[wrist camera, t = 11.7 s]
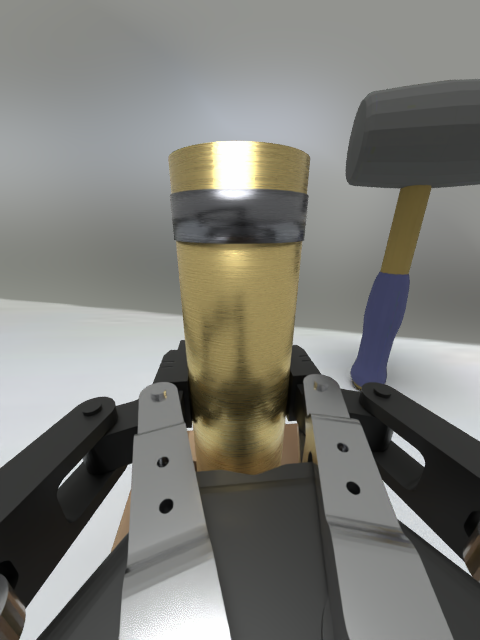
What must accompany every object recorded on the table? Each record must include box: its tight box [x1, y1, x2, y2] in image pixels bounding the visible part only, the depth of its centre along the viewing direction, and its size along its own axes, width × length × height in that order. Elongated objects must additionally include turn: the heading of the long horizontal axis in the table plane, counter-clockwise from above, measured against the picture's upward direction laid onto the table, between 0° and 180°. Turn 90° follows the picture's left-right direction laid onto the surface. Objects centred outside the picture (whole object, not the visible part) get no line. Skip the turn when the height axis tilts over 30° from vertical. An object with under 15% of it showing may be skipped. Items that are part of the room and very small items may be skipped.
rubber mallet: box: [346, 79, 480, 389], centre depth 25 cm, size 12×8×30 cm, turn 79°
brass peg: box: [169, 141, 310, 475], centre depth 10 cm, size 4×4×18 cm
